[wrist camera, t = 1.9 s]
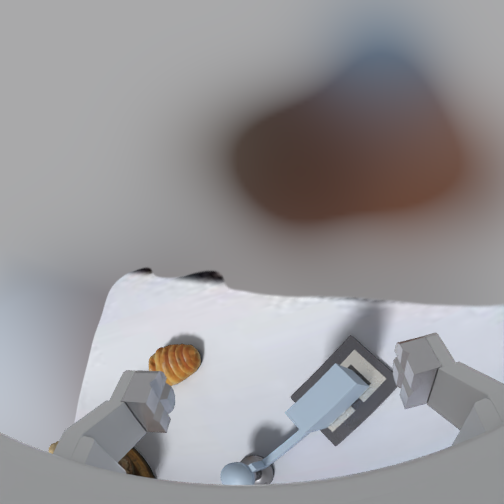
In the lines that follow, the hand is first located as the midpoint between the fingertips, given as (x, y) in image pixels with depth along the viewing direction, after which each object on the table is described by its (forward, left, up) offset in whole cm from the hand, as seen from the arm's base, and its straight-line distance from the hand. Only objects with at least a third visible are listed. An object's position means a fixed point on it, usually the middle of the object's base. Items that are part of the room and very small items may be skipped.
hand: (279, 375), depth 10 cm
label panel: (+4, +2, -28) cm, 28 cm away
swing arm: (+6, +10, -27) cm, 29 cm away
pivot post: (+9, +17, -28) cm, 34 cm away
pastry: (+30, +11, -29) cm, 43 cm away
